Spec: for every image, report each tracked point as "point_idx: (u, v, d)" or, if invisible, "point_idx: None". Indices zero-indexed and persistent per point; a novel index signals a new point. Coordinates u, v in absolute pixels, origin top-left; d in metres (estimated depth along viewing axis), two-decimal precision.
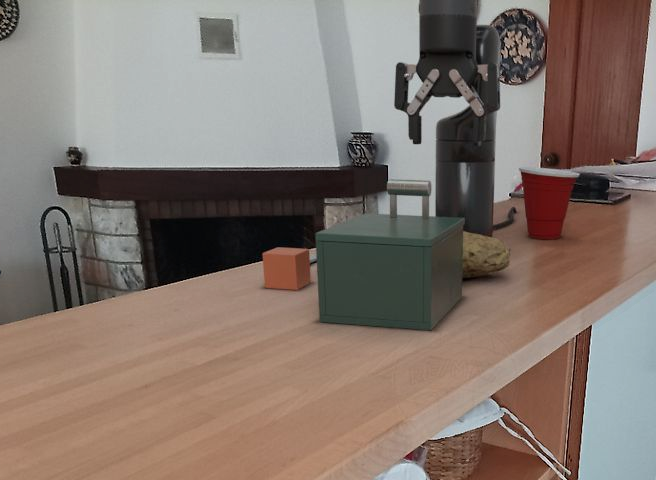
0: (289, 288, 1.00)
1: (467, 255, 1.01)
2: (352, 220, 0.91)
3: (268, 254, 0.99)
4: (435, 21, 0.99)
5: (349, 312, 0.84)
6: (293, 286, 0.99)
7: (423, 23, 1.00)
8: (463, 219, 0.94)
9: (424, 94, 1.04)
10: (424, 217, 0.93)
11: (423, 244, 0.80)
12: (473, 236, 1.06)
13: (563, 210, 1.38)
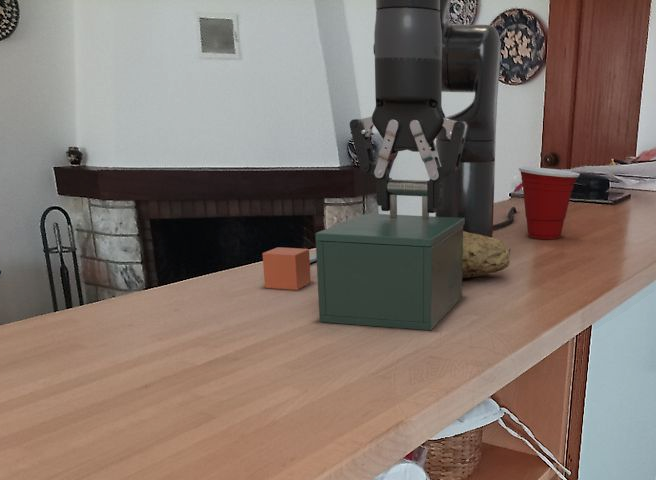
0: (289, 288, 1.00)
1: (467, 255, 1.01)
2: (352, 220, 0.91)
3: (268, 254, 0.99)
4: (392, 65, 0.84)
5: (349, 312, 0.84)
6: (293, 286, 0.99)
7: (379, 67, 0.86)
8: (463, 219, 0.94)
9: (388, 151, 0.90)
10: (424, 217, 0.93)
11: (423, 244, 0.80)
12: (473, 236, 1.06)
13: (563, 210, 1.38)
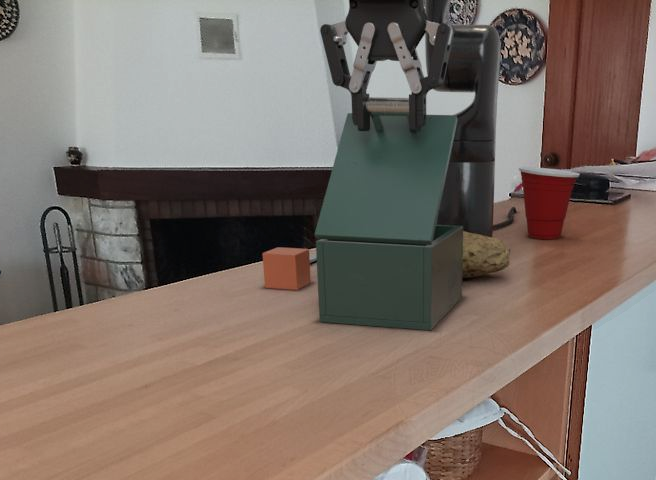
0: (289, 288, 1.00)
1: (467, 255, 1.01)
2: (339, 158, 0.85)
3: (268, 254, 0.99)
4: None
5: (349, 312, 0.84)
6: (293, 286, 0.99)
7: None
8: (455, 121, 0.85)
9: (364, 60, 0.79)
10: None
11: (423, 243, 0.80)
12: (473, 236, 1.06)
13: (563, 210, 1.38)
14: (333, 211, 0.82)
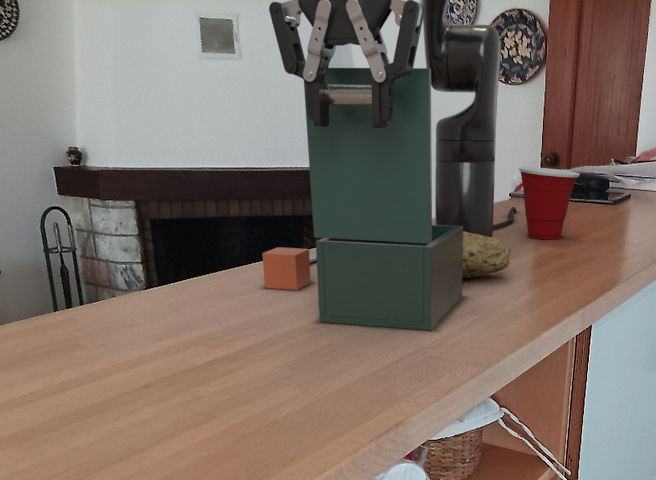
0: (289, 288, 1.00)
1: (467, 255, 1.01)
2: (312, 138, 0.78)
3: (268, 254, 0.99)
4: None
5: (349, 312, 0.84)
6: (293, 286, 0.99)
7: None
8: (429, 77, 0.73)
9: (319, 43, 0.68)
10: None
11: None
12: (473, 236, 1.06)
13: (563, 210, 1.38)
14: (325, 208, 0.80)
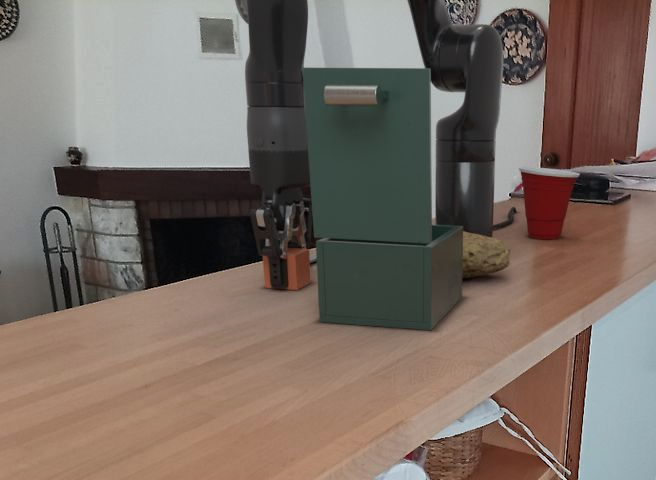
0: (289, 288, 1.00)
1: (467, 255, 1.01)
2: (312, 138, 0.78)
3: None
4: None
5: (349, 312, 0.84)
6: (293, 286, 0.99)
7: None
8: (429, 77, 0.73)
9: None
10: None
11: None
12: (473, 236, 1.06)
13: (563, 210, 1.38)
14: (325, 209, 0.80)
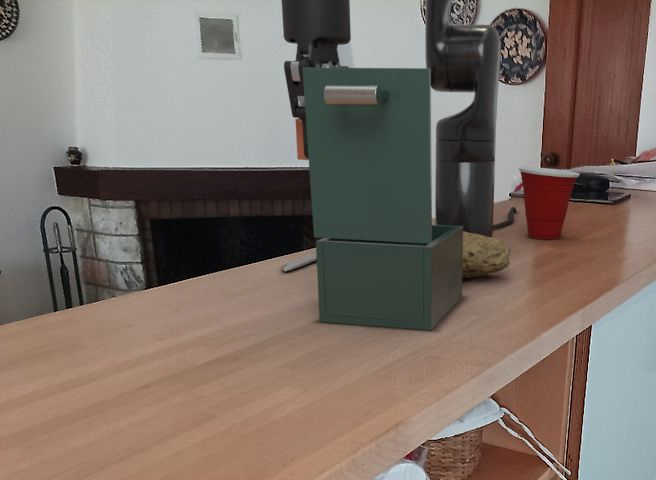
0: None
1: (467, 255, 1.01)
2: (312, 138, 0.78)
3: None
4: None
5: (349, 312, 0.84)
6: None
7: None
8: (429, 77, 0.73)
9: None
10: None
11: None
12: (473, 236, 1.06)
13: (563, 210, 1.38)
14: (325, 209, 0.80)
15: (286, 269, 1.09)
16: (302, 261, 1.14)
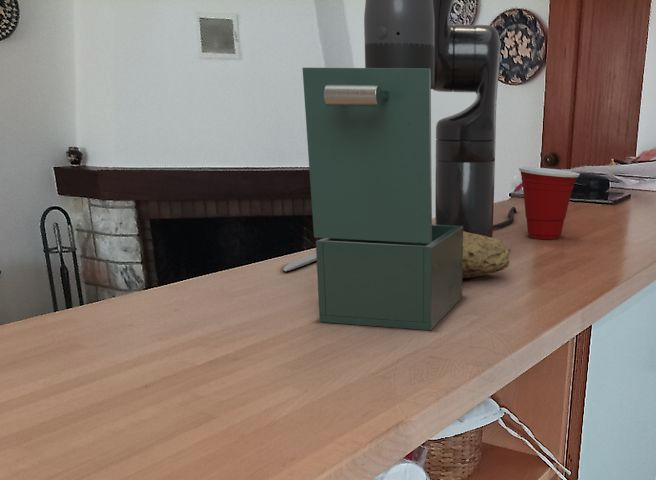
0: None
1: (467, 255, 1.01)
2: (312, 138, 0.78)
3: None
4: None
5: (349, 312, 0.84)
6: None
7: None
8: (429, 77, 0.73)
9: None
10: None
11: None
12: (473, 236, 1.06)
13: (563, 210, 1.38)
14: (325, 209, 0.80)
15: (286, 269, 1.09)
16: (302, 261, 1.14)
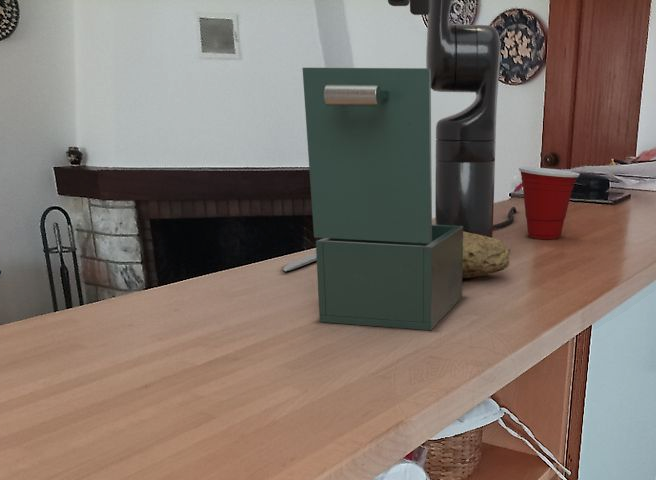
0: None
1: (466, 255, 1.01)
2: (312, 138, 0.78)
3: None
4: None
5: (349, 312, 0.84)
6: None
7: None
8: (429, 77, 0.73)
9: None
10: None
11: None
12: (473, 236, 1.06)
13: (563, 210, 1.38)
14: (325, 209, 0.80)
15: (286, 269, 1.09)
16: (302, 261, 1.14)
